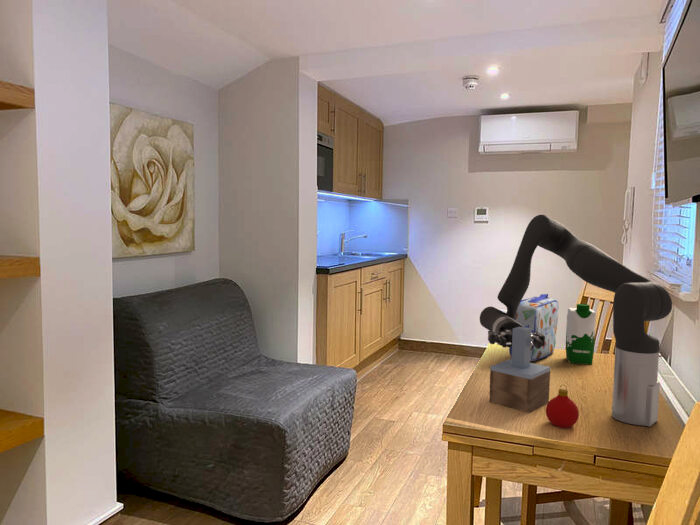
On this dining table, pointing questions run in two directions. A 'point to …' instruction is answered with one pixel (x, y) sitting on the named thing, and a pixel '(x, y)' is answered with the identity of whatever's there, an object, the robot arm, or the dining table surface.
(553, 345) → the lunch box
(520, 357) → the lid
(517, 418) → the dining table surface
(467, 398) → the dining table surface
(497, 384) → the block
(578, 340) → the milk carton
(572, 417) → the christmas ornament
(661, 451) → the dining table surface
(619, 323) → the robot arm
